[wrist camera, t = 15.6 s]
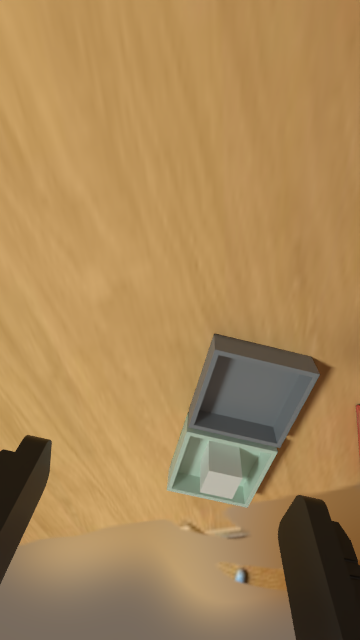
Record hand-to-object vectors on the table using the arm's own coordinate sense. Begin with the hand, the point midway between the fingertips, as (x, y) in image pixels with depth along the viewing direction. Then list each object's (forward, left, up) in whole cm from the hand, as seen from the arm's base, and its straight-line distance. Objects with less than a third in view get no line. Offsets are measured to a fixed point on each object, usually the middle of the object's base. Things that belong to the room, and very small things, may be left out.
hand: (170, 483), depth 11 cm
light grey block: (-11, +29, -28) cm, 41 cm away
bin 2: (-11, +29, -28) cm, 42 cm away
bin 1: (-11, +16, -28) cm, 34 cm away
